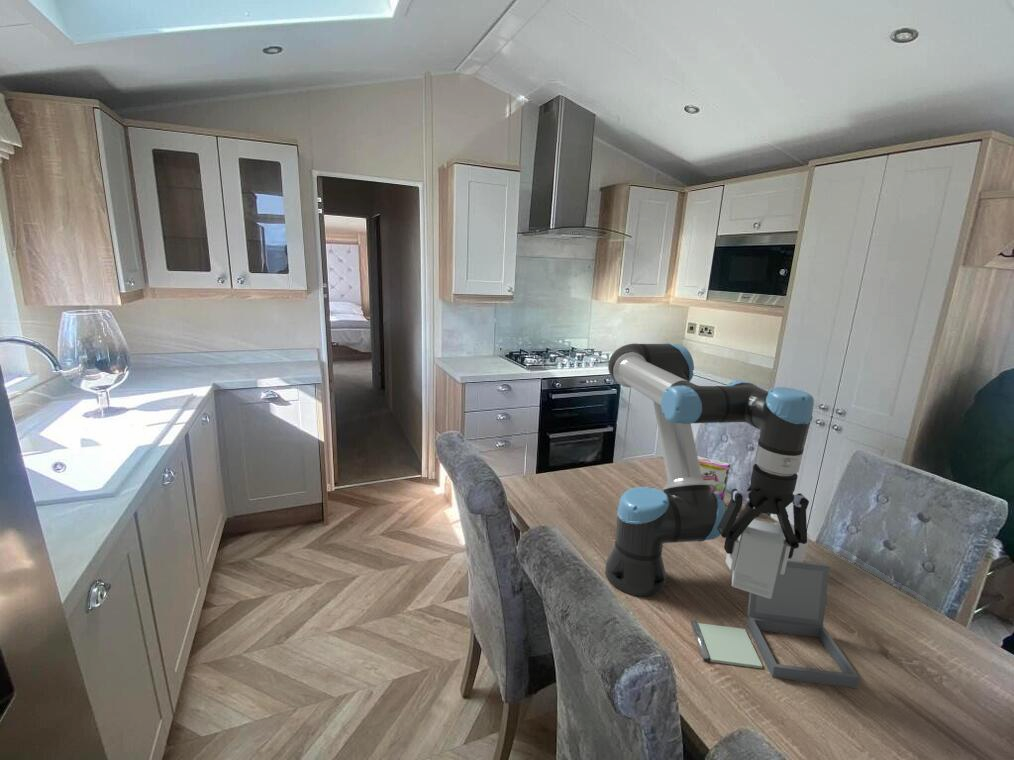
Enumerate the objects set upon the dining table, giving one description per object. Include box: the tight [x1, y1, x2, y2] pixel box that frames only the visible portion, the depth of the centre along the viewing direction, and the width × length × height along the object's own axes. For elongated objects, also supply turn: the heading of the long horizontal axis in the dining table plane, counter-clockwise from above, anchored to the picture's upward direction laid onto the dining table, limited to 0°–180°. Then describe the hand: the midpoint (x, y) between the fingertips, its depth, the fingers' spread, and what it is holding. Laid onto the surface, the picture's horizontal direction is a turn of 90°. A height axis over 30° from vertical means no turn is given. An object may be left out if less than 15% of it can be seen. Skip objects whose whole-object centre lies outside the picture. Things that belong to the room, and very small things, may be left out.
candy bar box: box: [697, 455, 731, 504], centre depth 156 cm, size 11×5×16 cm, turn 58°
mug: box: [773, 521, 810, 562], centre depth 127 cm, size 9×12×11 cm
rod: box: [690, 619, 710, 662], centre depth 100 cm, size 1×10×1 cm, turn 172°
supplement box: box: [731, 518, 784, 599], centre depth 94 cm, size 7×7×13 cm
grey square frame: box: [746, 616, 861, 689], centre depth 97 cm, size 16×14×2 cm
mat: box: [697, 622, 764, 669], centre depth 99 cm, size 10×10×1 cm
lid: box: [747, 560, 830, 626], centre depth 103 cm, size 16×14×1 cm
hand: (754, 567), depth 95 cm, fingers closed on supplement box, 9 cm apart
